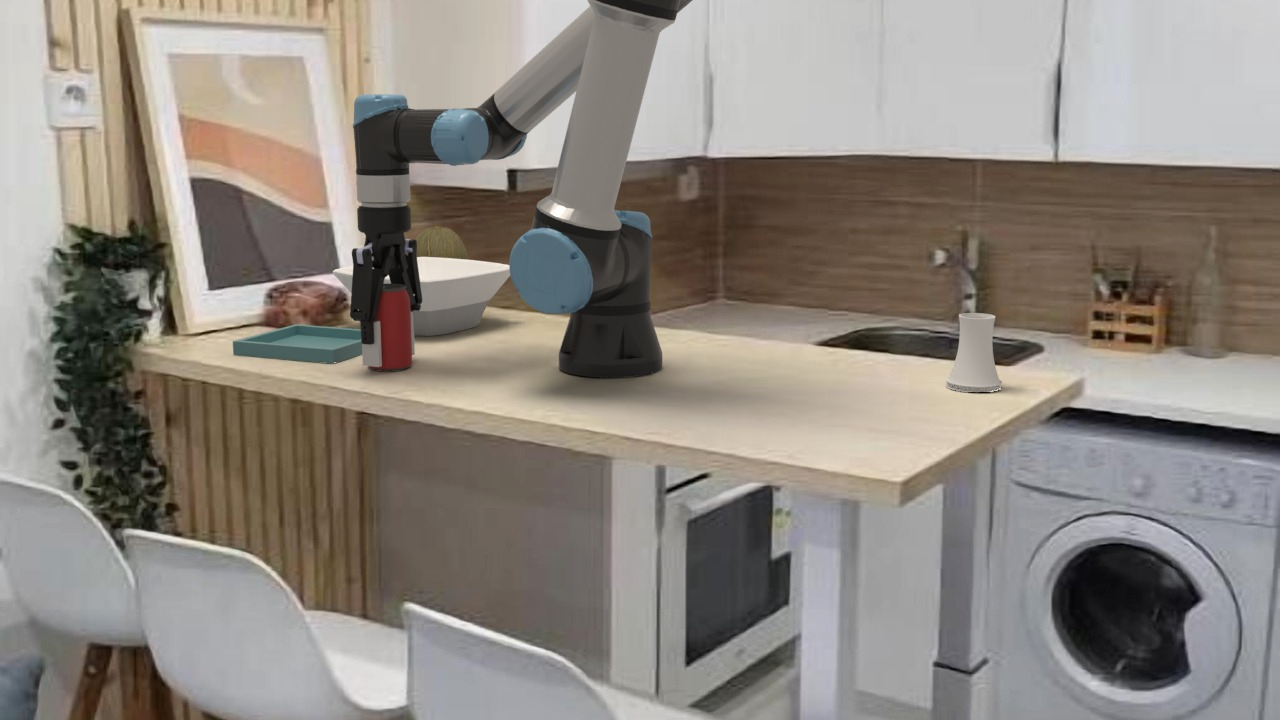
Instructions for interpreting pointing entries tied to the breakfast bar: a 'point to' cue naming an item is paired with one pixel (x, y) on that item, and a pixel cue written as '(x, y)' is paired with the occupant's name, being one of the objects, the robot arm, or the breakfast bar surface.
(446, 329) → the bowl
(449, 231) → the fruit
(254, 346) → the tray
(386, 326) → the beer can
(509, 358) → the breakfast bar surface
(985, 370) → the cooling tower model
